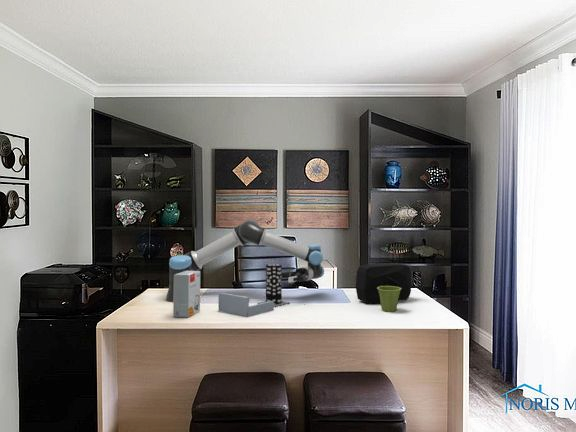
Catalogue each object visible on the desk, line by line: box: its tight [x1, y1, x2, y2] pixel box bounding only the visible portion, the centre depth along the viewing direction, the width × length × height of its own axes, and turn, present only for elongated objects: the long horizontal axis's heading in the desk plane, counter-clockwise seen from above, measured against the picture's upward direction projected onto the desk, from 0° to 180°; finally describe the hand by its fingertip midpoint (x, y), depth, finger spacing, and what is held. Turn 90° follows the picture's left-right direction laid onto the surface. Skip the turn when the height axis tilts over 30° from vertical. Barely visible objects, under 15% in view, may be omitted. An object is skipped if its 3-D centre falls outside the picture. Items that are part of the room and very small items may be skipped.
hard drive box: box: [172, 270, 201, 318], centre depth 243 cm, size 16×8×20 cm, turn 168°
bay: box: [218, 292, 275, 318], centre depth 251 cm, size 19×19×9 cm
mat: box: [257, 300, 290, 308], centre depth 267 cm, size 12×12×1 cm
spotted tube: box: [265, 263, 283, 304], centre depth 266 cm, size 8×8×20 cm
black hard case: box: [355, 262, 412, 305], centre depth 274 cm, size 30×12×20 cm, turn 114°
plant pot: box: [377, 286, 401, 313], centre depth 253 cm, size 12×12×11 cm
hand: (278, 278), depth 268 cm, fingers open, 13 cm apart
